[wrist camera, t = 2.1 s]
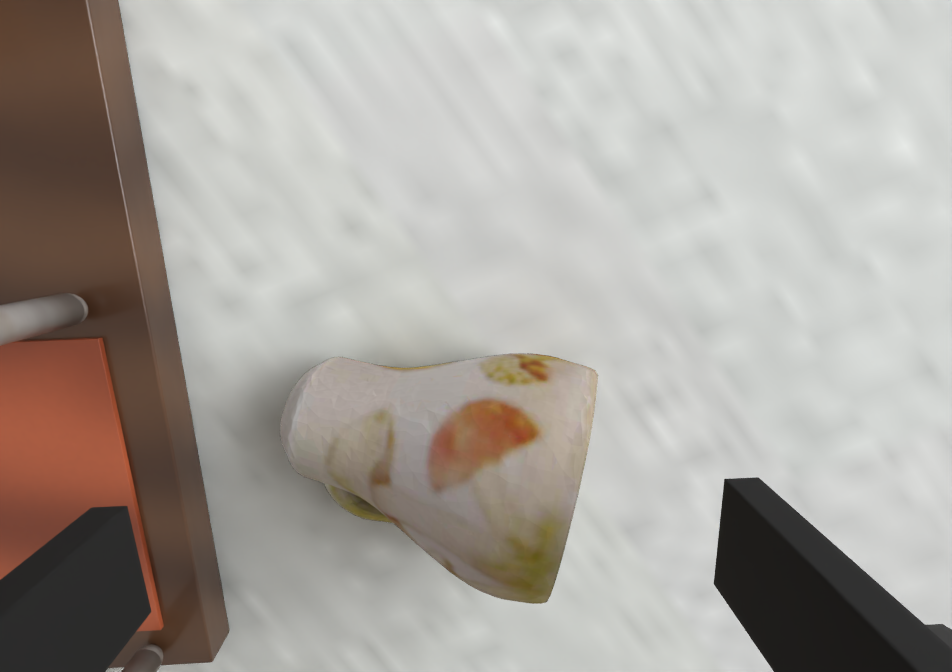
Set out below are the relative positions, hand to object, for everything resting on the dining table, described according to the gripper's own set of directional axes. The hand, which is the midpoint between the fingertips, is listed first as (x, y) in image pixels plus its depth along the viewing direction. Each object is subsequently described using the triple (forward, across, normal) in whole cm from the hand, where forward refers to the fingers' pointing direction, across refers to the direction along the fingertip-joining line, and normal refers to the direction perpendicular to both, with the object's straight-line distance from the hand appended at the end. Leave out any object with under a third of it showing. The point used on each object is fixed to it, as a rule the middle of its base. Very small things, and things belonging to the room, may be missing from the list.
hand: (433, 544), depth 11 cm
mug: (+8, 0, 0) cm, 8 cm away
